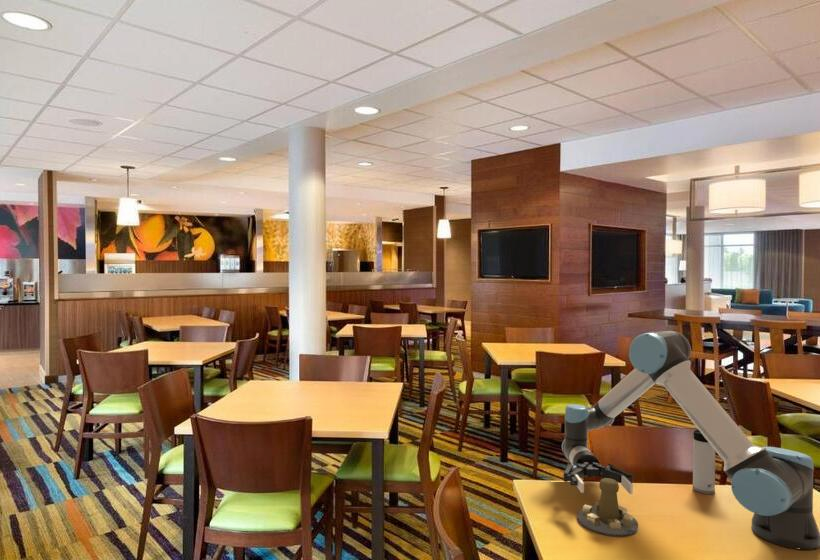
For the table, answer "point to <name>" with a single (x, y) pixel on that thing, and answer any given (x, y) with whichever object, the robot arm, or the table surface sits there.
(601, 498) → the cork
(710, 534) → the table surface
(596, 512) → the ring holder
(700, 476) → the travel mug
